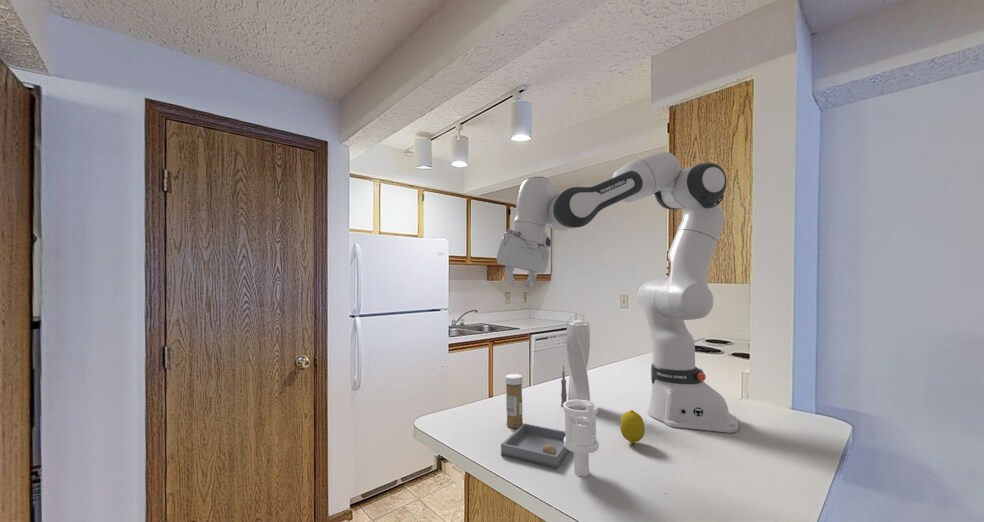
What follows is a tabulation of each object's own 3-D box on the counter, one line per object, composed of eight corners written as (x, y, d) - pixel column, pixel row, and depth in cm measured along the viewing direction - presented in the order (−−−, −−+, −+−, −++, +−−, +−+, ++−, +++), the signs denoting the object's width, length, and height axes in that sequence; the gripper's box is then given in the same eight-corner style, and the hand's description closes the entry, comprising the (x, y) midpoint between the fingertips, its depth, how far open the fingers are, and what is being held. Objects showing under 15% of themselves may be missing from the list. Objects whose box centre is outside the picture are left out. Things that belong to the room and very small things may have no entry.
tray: (574, 443, 92) (574, 433, 92) (556, 468, 81) (556, 457, 81) (524, 433, 99) (524, 423, 99) (501, 455, 87) (500, 444, 87)
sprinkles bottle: (526, 426, 103) (525, 376, 103) (512, 430, 101) (512, 378, 101) (516, 420, 107) (515, 372, 107) (502, 424, 104) (502, 375, 105)
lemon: (644, 440, 94) (643, 407, 94) (645, 450, 89) (644, 415, 89) (620, 437, 96) (619, 405, 96) (620, 447, 90) (619, 413, 91)
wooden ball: (558, 457, 85) (558, 443, 85) (553, 463, 82) (553, 449, 82) (545, 454, 86) (545, 440, 86) (540, 460, 83) (540, 446, 83)
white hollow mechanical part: (577, 485, 75) (576, 407, 75) (557, 468, 81) (556, 397, 81) (606, 476, 77) (605, 402, 78) (584, 461, 84) (583, 392, 84)
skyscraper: (571, 399, 124) (570, 313, 125) (595, 404, 120) (593, 315, 120) (560, 407, 118) (558, 316, 118) (585, 413, 113) (583, 318, 114)
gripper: (516, 228, 93) (506, 283, 93) (555, 243, 110) (547, 290, 109) (495, 226, 97) (486, 280, 97) (536, 241, 114) (528, 287, 113)
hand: (519, 285), depth 103 cm, fingers open, 8 cm apart
